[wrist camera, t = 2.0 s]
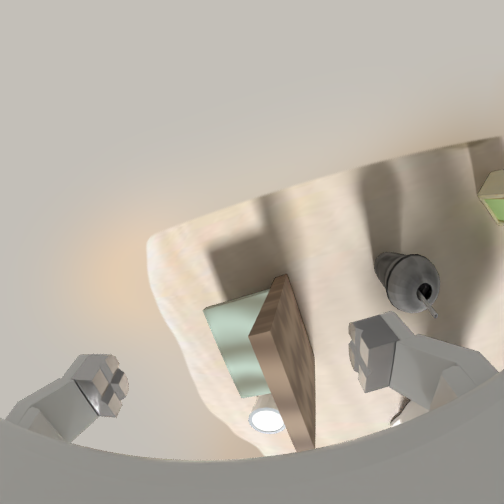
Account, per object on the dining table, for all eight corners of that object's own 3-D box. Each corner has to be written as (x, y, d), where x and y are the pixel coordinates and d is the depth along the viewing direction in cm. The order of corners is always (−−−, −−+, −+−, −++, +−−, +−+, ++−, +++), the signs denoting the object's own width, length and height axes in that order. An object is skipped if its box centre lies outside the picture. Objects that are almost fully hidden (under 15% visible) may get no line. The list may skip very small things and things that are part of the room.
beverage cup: (413, 255, 39) (480, 285, 20) (394, 294, 41) (446, 348, 22) (378, 235, 40) (433, 254, 21) (358, 276, 42) (396, 325, 22)
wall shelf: (314, 358, 45) (315, 450, 24) (250, 372, 48) (217, 459, 26) (286, 274, 44) (270, 330, 22) (219, 294, 46) (155, 355, 25)
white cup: (248, 391, 48) (241, 413, 42) (280, 380, 47) (276, 403, 40) (265, 414, 49) (259, 437, 42) (296, 405, 47) (294, 428, 40)
